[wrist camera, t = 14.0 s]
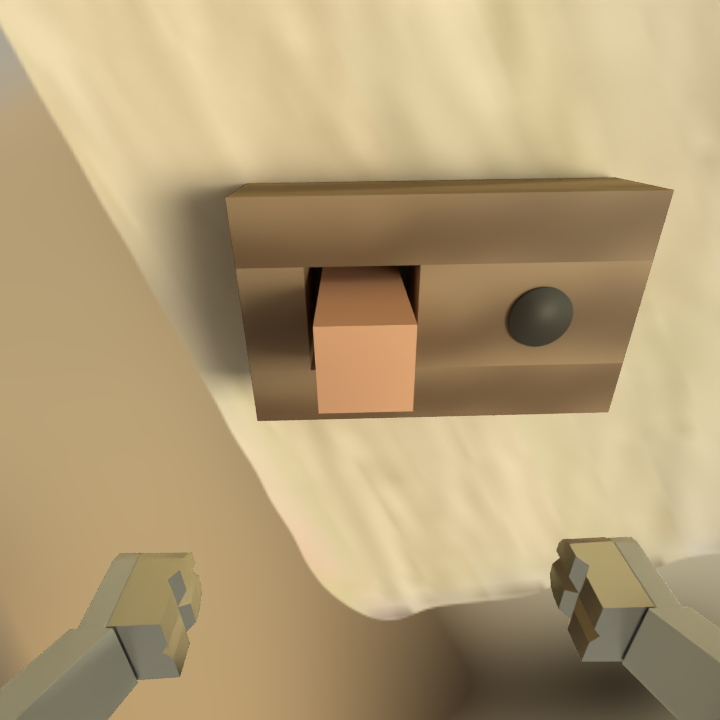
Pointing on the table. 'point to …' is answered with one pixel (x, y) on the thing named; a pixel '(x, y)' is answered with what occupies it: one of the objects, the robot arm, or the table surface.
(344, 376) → the square peg
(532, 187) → the socket block
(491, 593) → the table surface
